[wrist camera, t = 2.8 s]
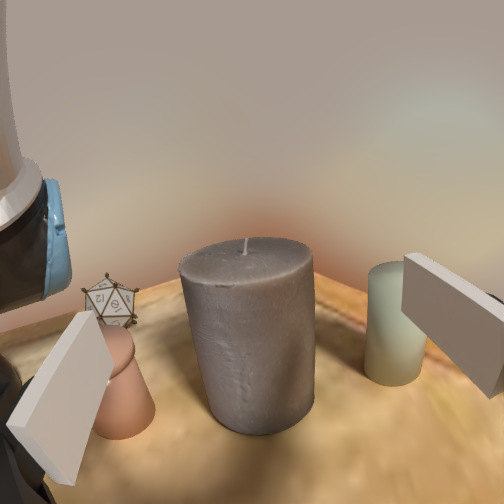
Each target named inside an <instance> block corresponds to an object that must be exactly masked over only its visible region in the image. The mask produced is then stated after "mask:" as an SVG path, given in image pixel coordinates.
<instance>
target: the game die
mask: <svg viewBox="0 0 504 504" xmlns="http://www.w3.org/2000/svg"><path fill="white" fill-rule="evenodd" d="M105 277H106V279H104V280H103V281H101V282H100V283H98V284H97V285H95V286H94V287H92V288H90V289H89V290H86V289H85V288H82V291H83V292H85V293H86V296H85V300H86V301H85V311H90V310H93V311H94V313H95V316H96V319H97V321H98V324H99V325H118V326H121V327H124V328H126V327H127V326H128V325H129V324H130V323H132V322H133V323H134V324H137V321H135V320H133V318H135V319H136V318H138V317H137V315H135V314H134V297H135V293H136V292H138V291H139V288H137V289H135V290H134V291H133V290H131V289H129V288H127V287H125V286H123V285H121V284H119V283H117V282H115V281H113V280H111V279H109V278H108V277H109V274H108V273H106V275H105Z"/></svg>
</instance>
